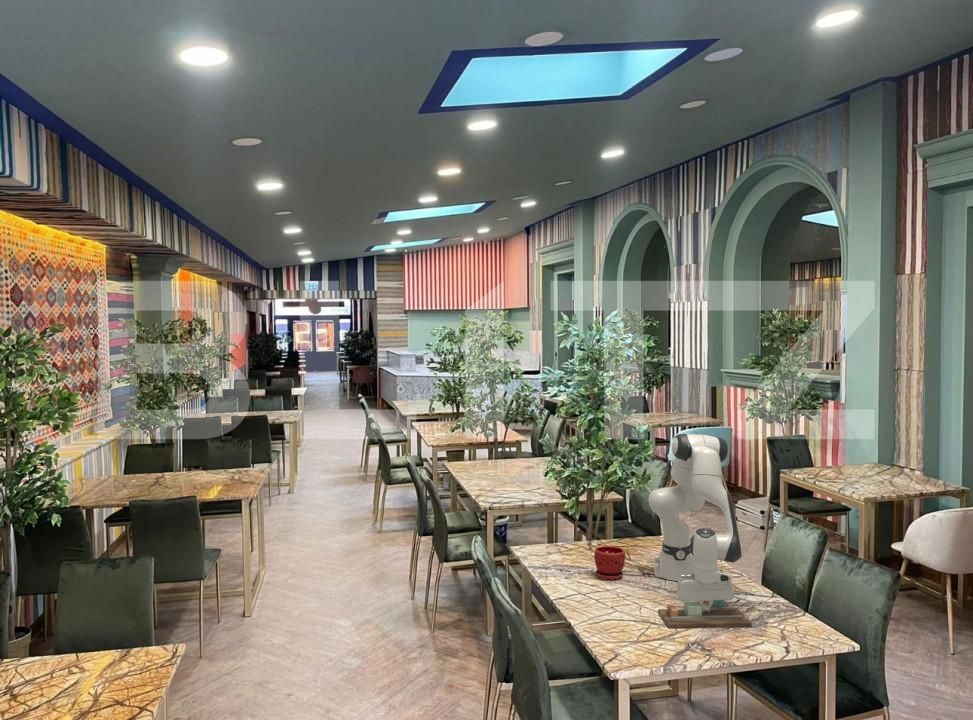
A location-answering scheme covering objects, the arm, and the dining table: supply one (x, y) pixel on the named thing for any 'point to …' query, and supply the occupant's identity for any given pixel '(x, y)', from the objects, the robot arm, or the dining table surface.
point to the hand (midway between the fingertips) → (705, 611)
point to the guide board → (704, 618)
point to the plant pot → (609, 562)
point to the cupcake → (718, 603)
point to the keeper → (692, 609)
